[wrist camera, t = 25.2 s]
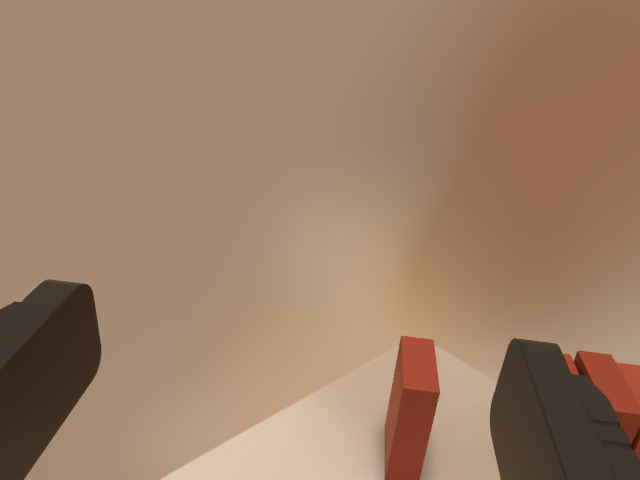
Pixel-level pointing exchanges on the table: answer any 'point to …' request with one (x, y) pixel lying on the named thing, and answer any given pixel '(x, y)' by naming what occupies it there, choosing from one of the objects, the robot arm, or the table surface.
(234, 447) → the table surface
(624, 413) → the red books
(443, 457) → the table surface
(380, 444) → the table surface
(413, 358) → the red book
